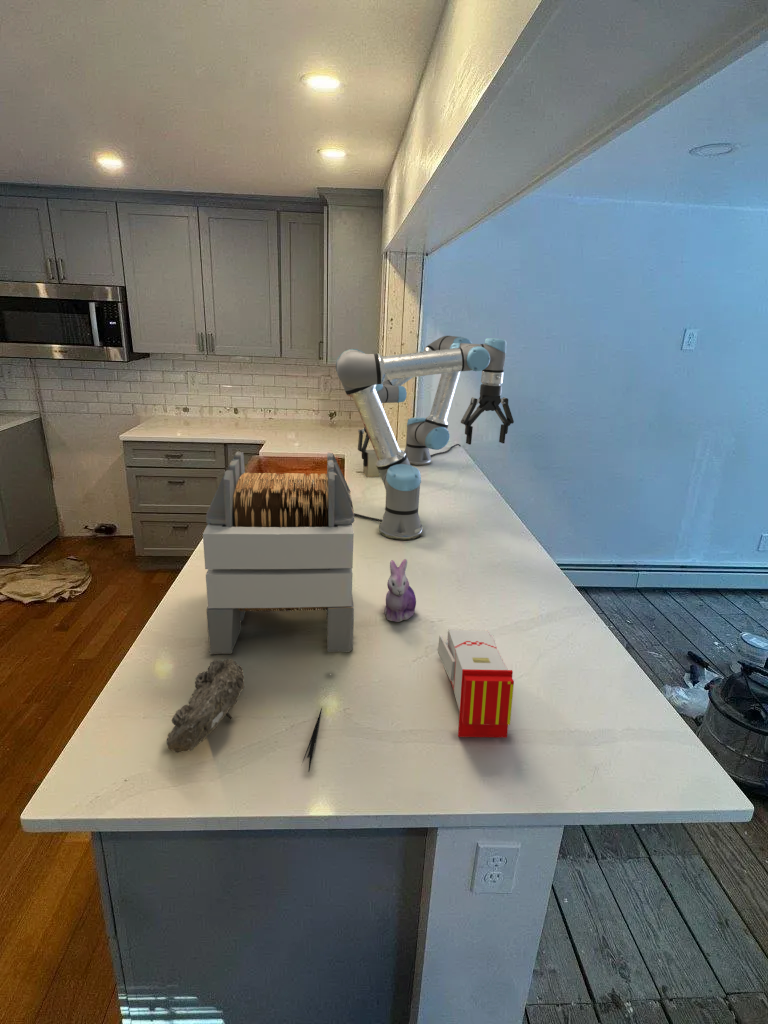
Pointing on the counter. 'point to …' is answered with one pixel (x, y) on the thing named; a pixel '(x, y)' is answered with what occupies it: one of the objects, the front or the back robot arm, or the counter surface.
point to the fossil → (206, 705)
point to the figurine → (399, 594)
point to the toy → (478, 682)
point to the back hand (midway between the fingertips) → (371, 465)
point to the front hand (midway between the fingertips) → (485, 443)
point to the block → (371, 464)
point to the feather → (313, 740)
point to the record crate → (279, 550)
